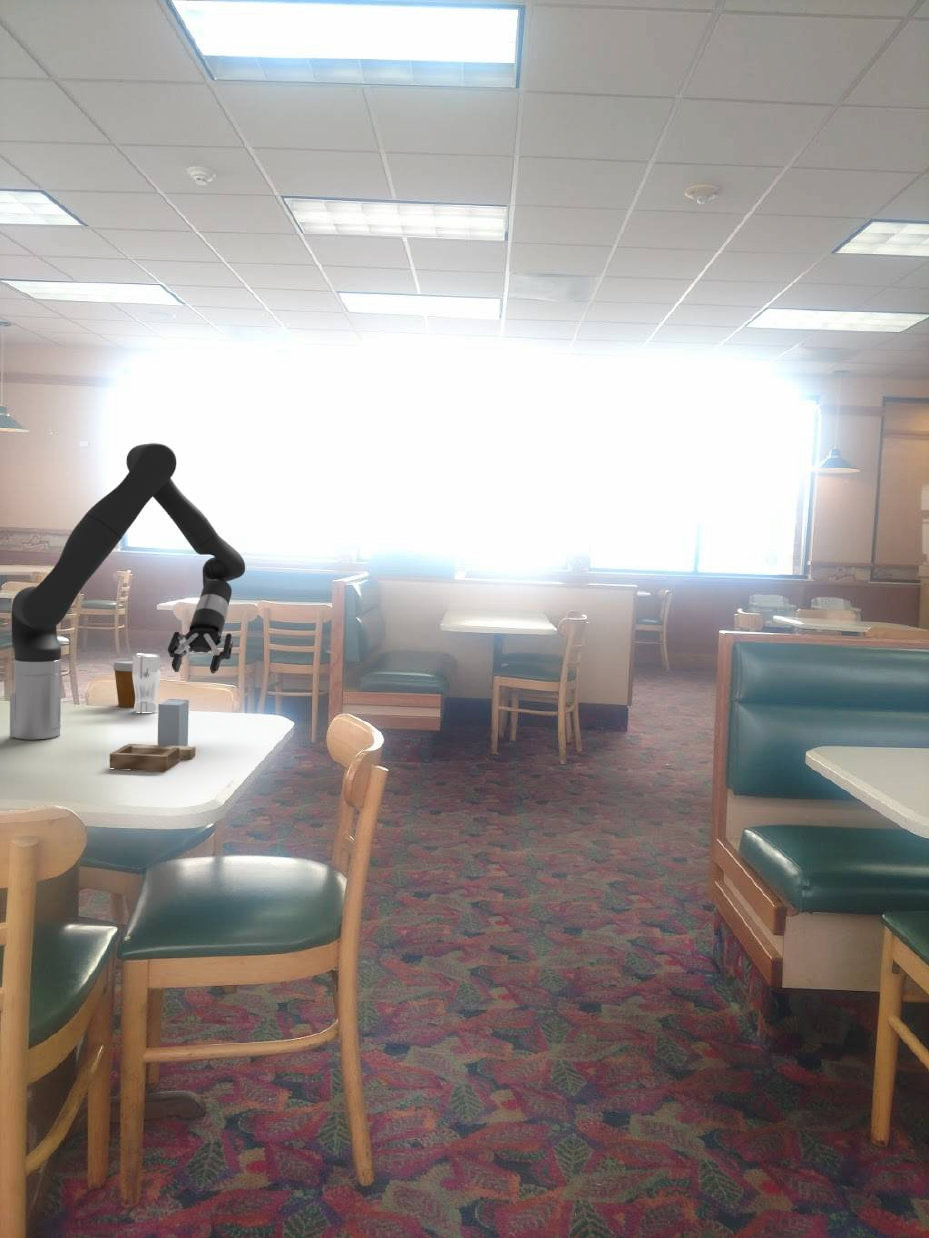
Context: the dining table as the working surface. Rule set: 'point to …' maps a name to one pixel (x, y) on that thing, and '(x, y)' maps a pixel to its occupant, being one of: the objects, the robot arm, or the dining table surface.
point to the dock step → (163, 750)
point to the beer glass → (146, 681)
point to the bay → (143, 760)
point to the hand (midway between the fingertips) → (193, 670)
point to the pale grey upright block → (173, 722)
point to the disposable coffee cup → (124, 682)
